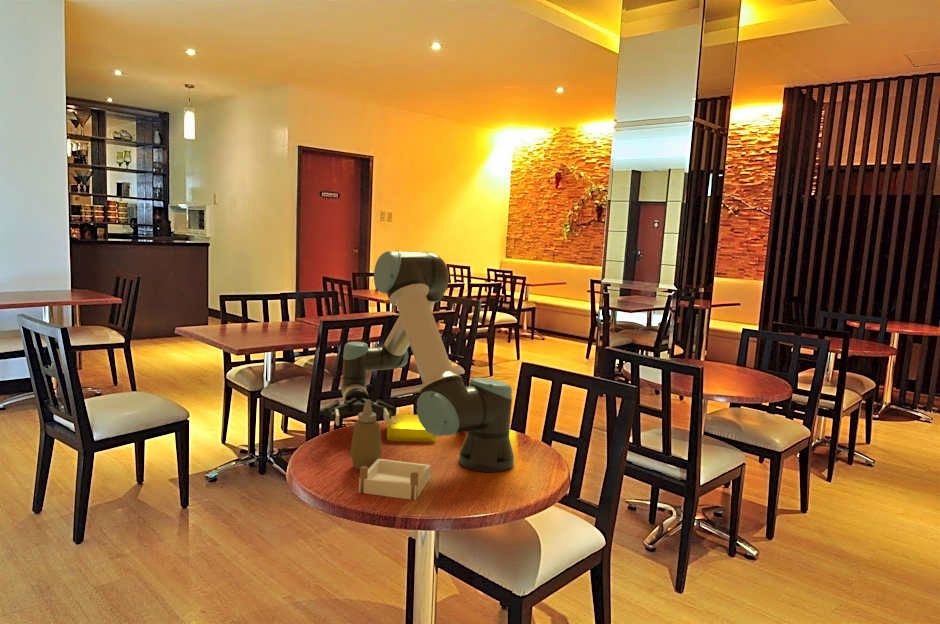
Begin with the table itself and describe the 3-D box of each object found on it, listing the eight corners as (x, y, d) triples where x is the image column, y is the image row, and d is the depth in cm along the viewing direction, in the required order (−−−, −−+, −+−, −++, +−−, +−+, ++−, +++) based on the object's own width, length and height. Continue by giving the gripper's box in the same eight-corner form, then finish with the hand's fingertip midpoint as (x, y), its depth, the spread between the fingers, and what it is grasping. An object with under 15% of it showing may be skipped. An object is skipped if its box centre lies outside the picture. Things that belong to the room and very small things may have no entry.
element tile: (387, 426, 206) (388, 412, 205) (434, 428, 207) (435, 413, 207) (386, 442, 191) (386, 426, 190) (436, 443, 193) (437, 428, 192)
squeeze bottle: (358, 475, 164) (360, 406, 162) (344, 464, 170) (346, 398, 168) (386, 469, 169) (389, 402, 166) (371, 459, 175) (374, 395, 173)
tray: (430, 478, 164) (431, 455, 164) (416, 500, 151) (417, 475, 150) (377, 471, 167) (378, 449, 166) (358, 492, 153) (359, 468, 152)
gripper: (396, 410, 201) (407, 432, 180) (314, 411, 194) (315, 434, 174) (397, 387, 200) (408, 406, 180) (315, 387, 193) (316, 407, 173)
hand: (363, 420), depth 177 cm, fingers open, 13 cm apart
